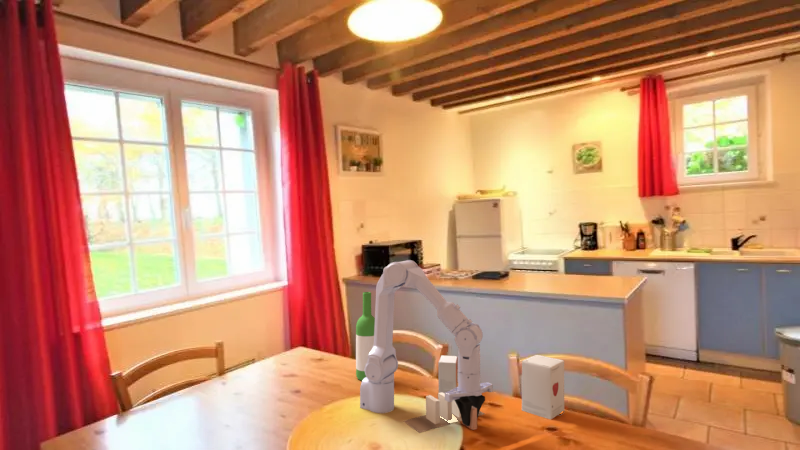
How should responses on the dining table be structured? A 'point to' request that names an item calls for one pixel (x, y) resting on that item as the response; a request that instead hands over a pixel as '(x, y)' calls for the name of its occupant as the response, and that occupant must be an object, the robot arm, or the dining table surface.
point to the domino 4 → (473, 418)
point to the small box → (448, 373)
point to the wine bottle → (364, 336)
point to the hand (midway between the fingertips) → (469, 423)
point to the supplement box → (543, 386)
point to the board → (428, 423)
